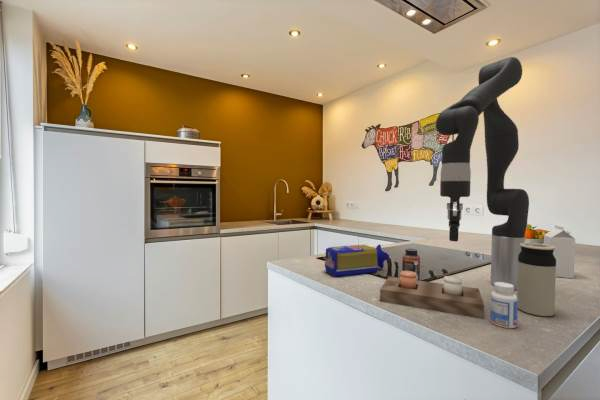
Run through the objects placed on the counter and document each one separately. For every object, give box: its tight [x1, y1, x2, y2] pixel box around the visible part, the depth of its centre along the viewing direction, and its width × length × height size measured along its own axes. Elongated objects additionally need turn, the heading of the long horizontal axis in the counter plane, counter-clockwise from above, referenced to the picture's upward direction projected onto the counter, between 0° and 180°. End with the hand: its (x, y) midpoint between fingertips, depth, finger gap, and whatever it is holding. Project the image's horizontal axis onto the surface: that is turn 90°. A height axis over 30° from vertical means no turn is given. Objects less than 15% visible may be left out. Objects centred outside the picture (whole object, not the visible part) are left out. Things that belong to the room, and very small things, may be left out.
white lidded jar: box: [443, 275, 463, 296], centre depth 84 cm, size 5×5×5 cm
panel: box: [379, 276, 485, 319], centre depth 86 cm, size 26×14×4 cm, turn 63°
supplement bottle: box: [401, 248, 421, 281], centre depth 105 cm, size 6×6×11 cm
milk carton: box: [543, 225, 576, 279], centre depth 112 cm, size 7×7×19 cm
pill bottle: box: [490, 282, 518, 329], centre depth 71 cm, size 6×5×10 cm
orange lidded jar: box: [399, 271, 416, 290], centre depth 89 cm, size 5×5×5 cm
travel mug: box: [516, 242, 557, 317], centre depth 79 cm, size 8×8×18 cm
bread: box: [324, 244, 390, 278], centre depth 117 cm, size 10×25×10 cm, turn 111°
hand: (453, 240), depth 83 cm, fingers closed
